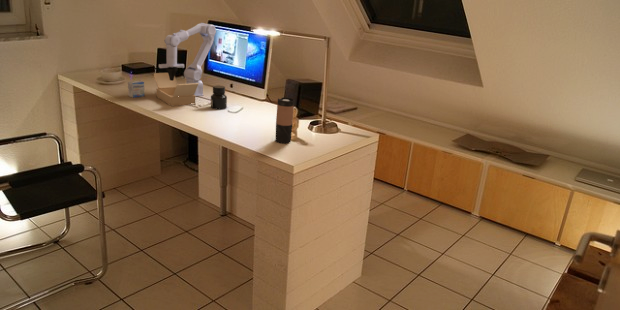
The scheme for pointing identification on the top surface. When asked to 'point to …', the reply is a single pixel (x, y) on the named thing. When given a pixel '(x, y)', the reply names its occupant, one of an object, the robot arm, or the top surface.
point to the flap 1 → (164, 80)
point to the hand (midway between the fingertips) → (171, 80)
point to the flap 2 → (185, 89)
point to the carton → (167, 97)
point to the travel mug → (284, 120)
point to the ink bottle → (218, 97)
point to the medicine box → (136, 89)
